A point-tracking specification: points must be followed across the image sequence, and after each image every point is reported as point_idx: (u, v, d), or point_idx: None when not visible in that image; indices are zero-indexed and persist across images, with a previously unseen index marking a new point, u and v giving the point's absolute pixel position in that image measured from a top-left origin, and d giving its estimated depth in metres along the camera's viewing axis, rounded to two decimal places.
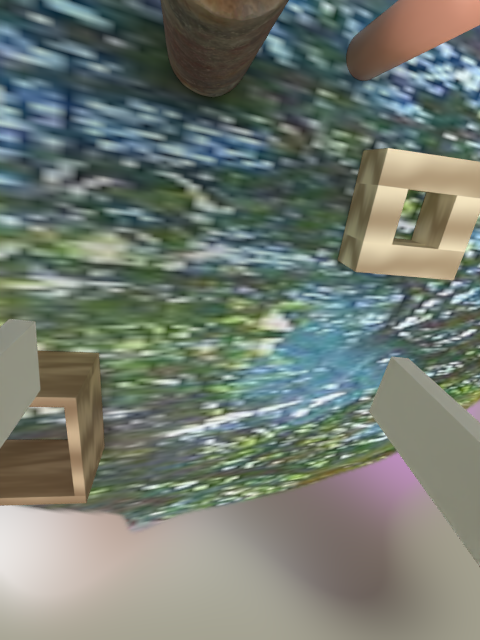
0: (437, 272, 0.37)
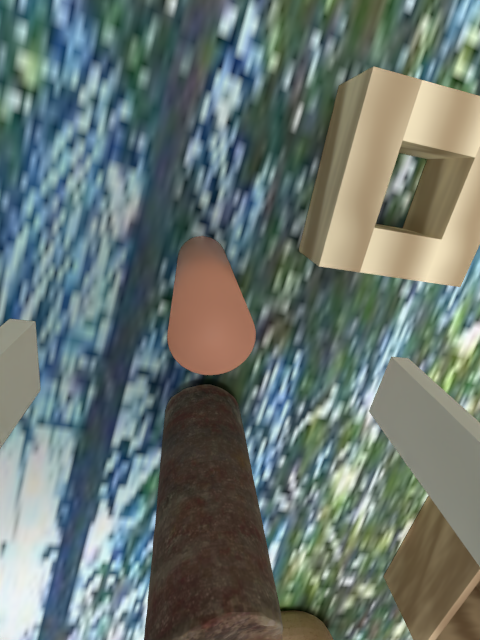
0: None
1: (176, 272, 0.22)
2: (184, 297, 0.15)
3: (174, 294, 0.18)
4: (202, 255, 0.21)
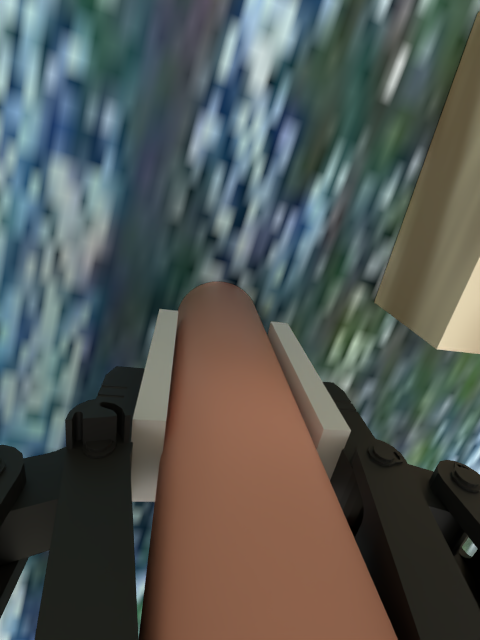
0: None
1: (171, 376, 0.11)
2: (185, 626, 0.04)
3: (160, 499, 0.07)
4: (225, 349, 0.10)
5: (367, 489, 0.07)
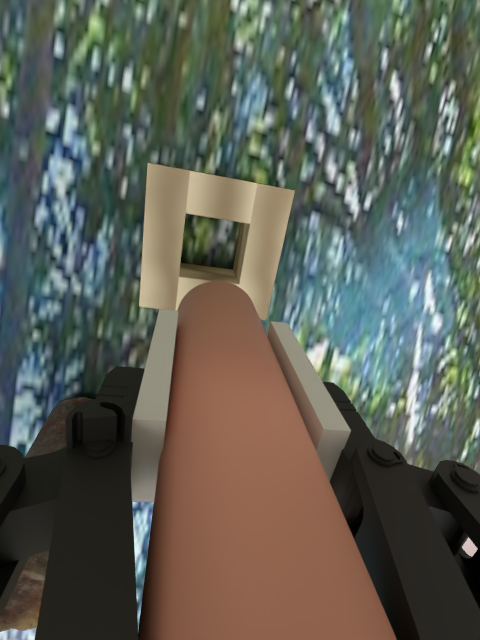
0: (280, 217, 0.29)
1: None
2: (184, 617, 0.04)
3: (159, 495, 0.07)
4: (224, 347, 0.10)
5: (367, 489, 0.07)
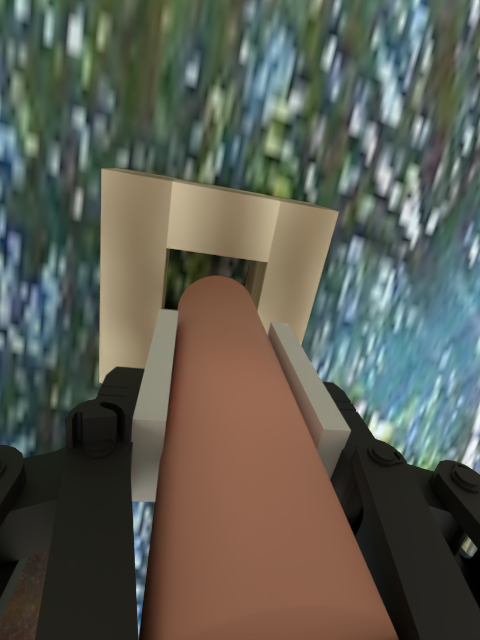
0: (314, 252, 0.19)
1: (173, 360, 0.12)
2: (187, 552, 0.05)
3: (164, 463, 0.08)
4: (222, 334, 0.11)
5: (367, 489, 0.07)
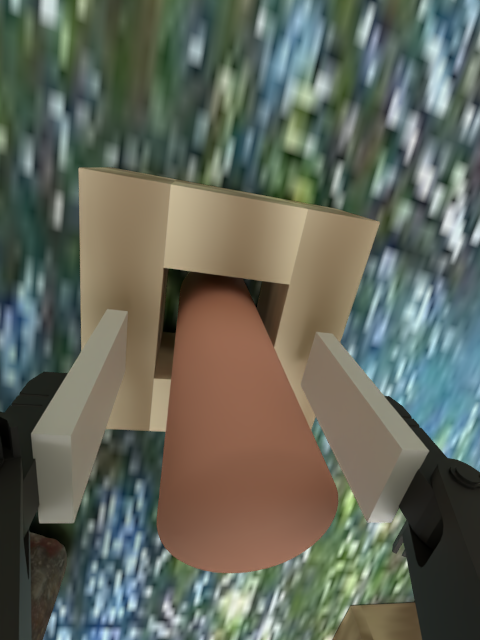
0: (347, 272, 0.15)
1: (177, 329, 0.14)
2: (192, 431, 0.07)
3: (173, 393, 0.10)
4: (218, 305, 0.13)
5: (449, 507, 0.07)
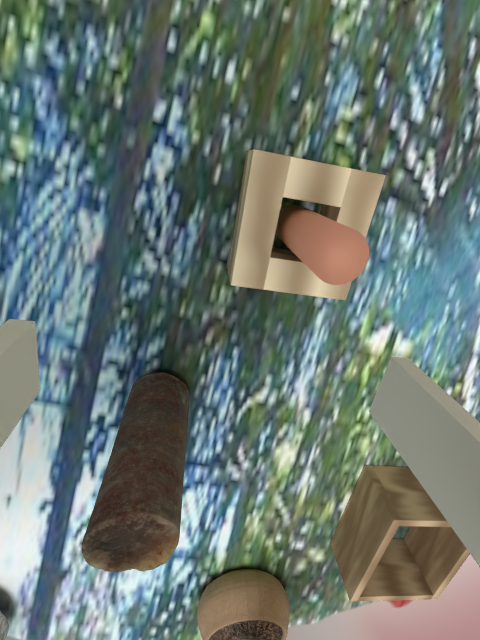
0: (369, 201, 0.30)
1: (288, 226, 0.30)
2: (321, 231, 0.23)
3: (303, 234, 0.26)
4: (310, 212, 0.29)
5: None
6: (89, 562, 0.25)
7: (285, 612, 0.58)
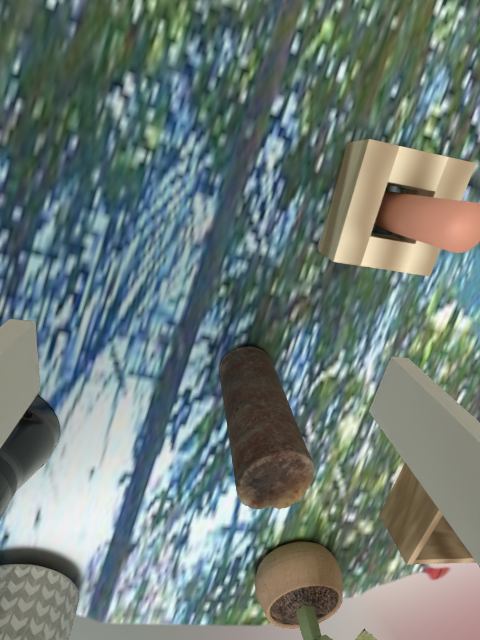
0: (460, 186, 0.35)
1: (392, 207, 0.34)
2: (448, 206, 0.27)
3: (421, 211, 0.30)
4: (414, 195, 0.33)
5: None
6: (241, 497, 0.28)
7: (340, 580, 0.62)
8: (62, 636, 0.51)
